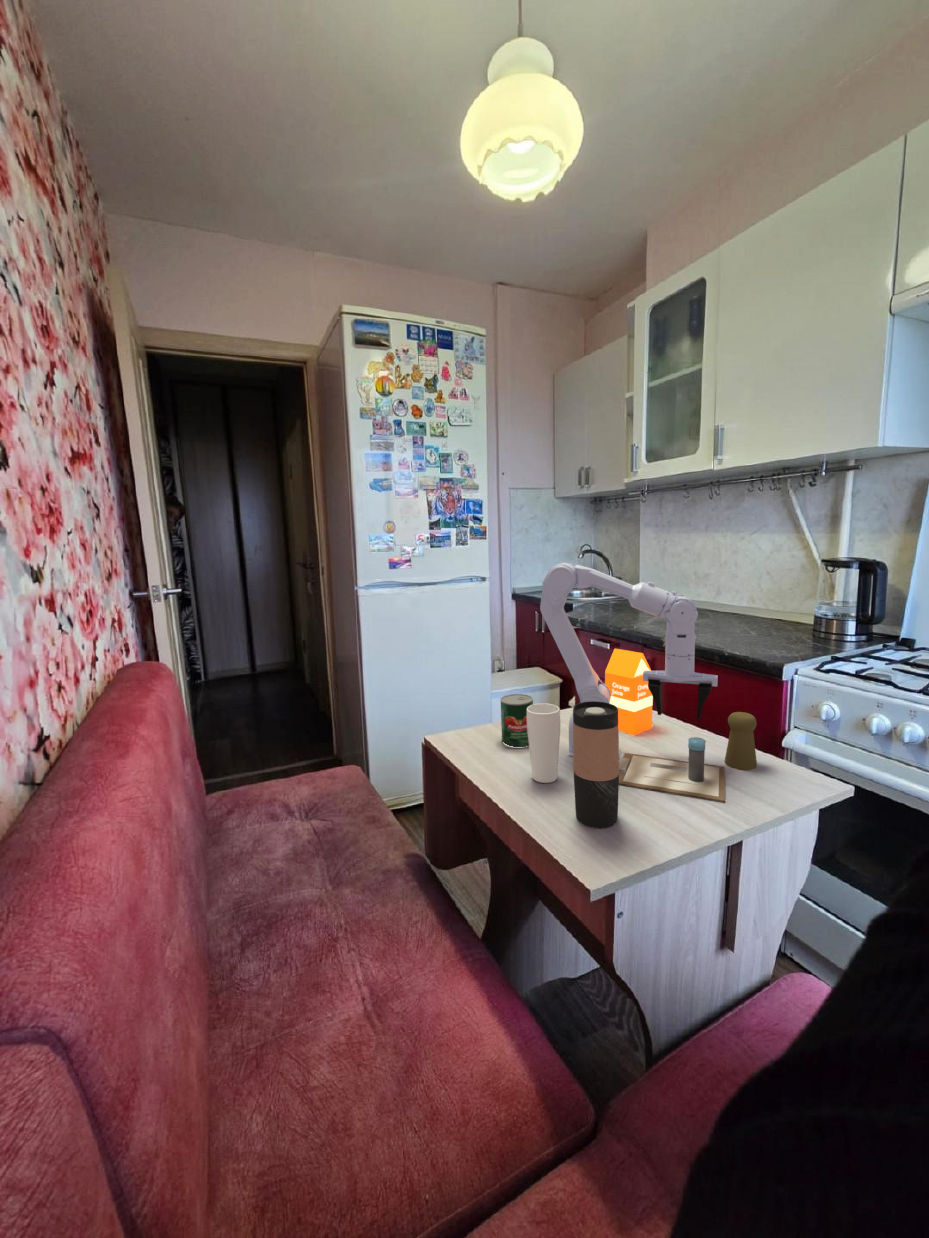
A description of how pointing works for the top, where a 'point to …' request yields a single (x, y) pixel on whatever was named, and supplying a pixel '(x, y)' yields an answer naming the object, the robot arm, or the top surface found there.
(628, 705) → the orange juice
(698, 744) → the marker
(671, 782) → the clipboard
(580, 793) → the travel mug
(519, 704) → the canned tomato
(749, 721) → the cork
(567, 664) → the robot arm
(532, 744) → the drinking glass
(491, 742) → the top surface
